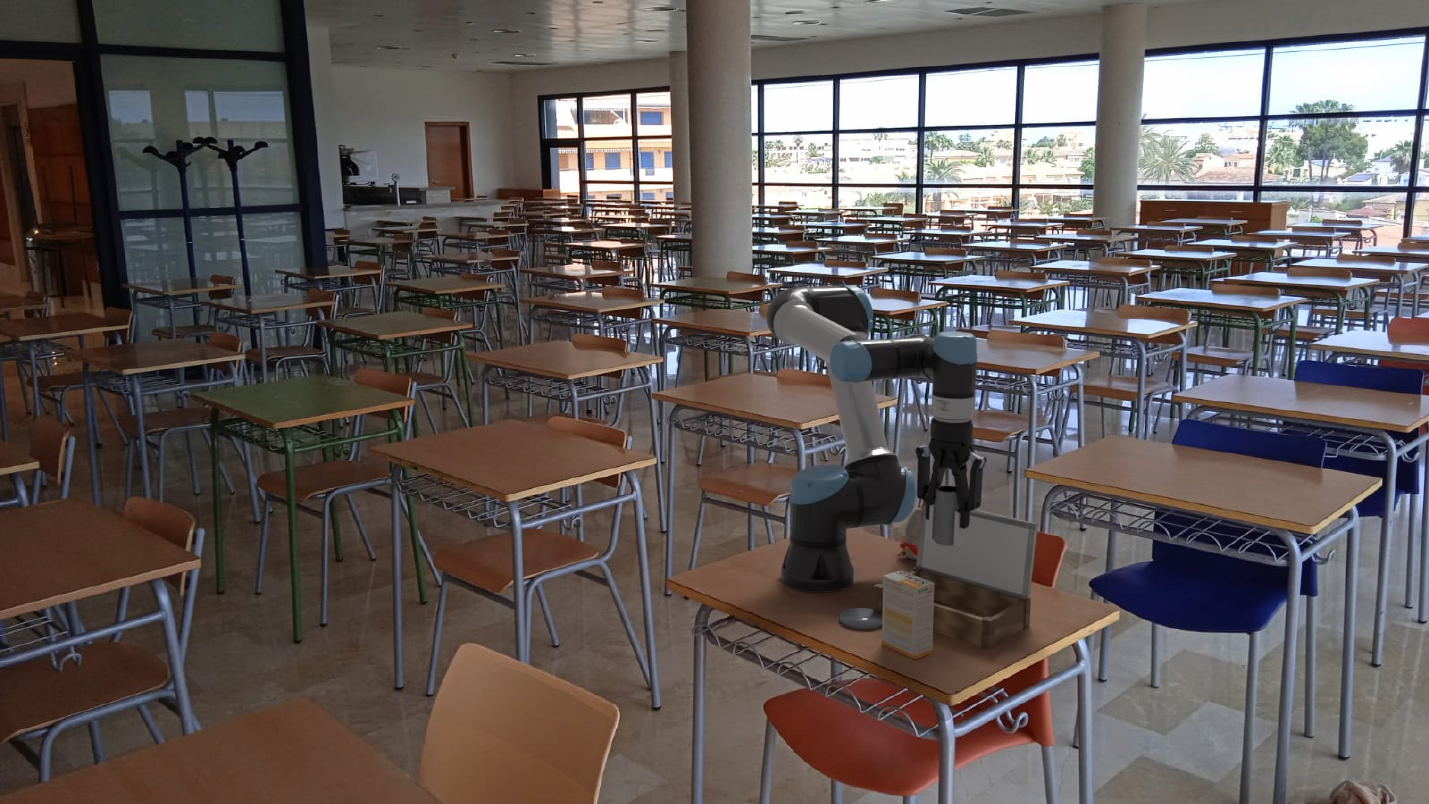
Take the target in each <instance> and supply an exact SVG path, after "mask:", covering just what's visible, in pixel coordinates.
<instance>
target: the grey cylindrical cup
mask: <svg viewBox="0 0 1429 804" xmlns="http://www.w3.org/2000/svg"><path fill="white" fill-rule="evenodd" d="M958 509H959V506H958V499H957V493H956V487H955V485H949V484H945V485H941V486H938V487H937V488H936V506H935V528H934V542H935V543H937V544H940V545H945V546H953V542H954V521H955V511H957V510H958Z"/></svg>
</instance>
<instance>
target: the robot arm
mask: <svg viewBox="0 0 1429 804" xmlns="http://www.w3.org/2000/svg"><path fill="white" fill-rule="evenodd" d="M873 311H874V310H873V307H872V303H871V301H870V298H869V297H868V295H867V294H866V292H865V291H864V290H863V289H862V288H860V287H858V286H856V285H849V284H848V285H847V284H846V285H845V284H841V283H840V284H835V285H816V286H794V287H789V288H787V289H785V290H783V291H781V292H779V293H778V294H776V295H775V297H774V298H772V300H771V301H770V302H769V304H768V307H767V310H766V316H765V317H766V319H765V320H766V324H767V328H768V330H769V331H770V333H771V334H772V336H774V338H776V339H777V340H779V341H781V342H783V343H785V344H787V345H797V346H798V347H801V348H802V349H804V350H805V351H808V352H810V353H811V354H812V355H814V356H815V357H818V358H820V359H821V360H823V361H825V364H826V367H827V372H828V376H829V381H830V384H831V389H832V394H833V397H834V403H835V407H836V411H837V412H836V413H837V415H838V419H839V424H840V429H841V433H842V438H843V440H844V441H843V442H844V446H845V450H846V454H847V460H846V462H845V463H844V464H843V466H841V465H837V464H829V465H825V464H821V465H813V466H810V467H806V468H803V469H800V470H799V471H797V472H796V473H795V474H794V475H793V476H792V478H791V481H790V488H789V496H788V499H789V543H788V547H787V550H786V553H785V556H784V558H783V562H782V564H781V569H780V580H781V581H782V583H783V584H784V585H786V586H787V587H790V588H792V589H796V590H798V591H804V592H811V593H831V592H838V591H841V590H844V589H847V588H850V587H851V586H852V585H853V584H854V583H855V568H854V566H853V563H852V561H851V556H850V552H849V550H848V549H849V548H848V545H847V533H848V532H847V531H848V529H857V528H865V527H871V526H872V527H873V526H880V525H882V526H883V525H885V526H888V525H891V524H895V523H900V522H903V521H905V520H907V518H910V516H911V515H912V513H913V510H914V508H915V507H914V506H915V504H916V500H917V499H919V500H922V501H923V500H924V501H925V502H926V520H929V536H928V539H931V540H932V539H934V528H935V506H936V488H937V487H938V486H942V484H943V480H944V476H945V473H946V470H947V469H949V470H951V475H952V477H953V479H954V486H955V487H956V493H957V499H958V506H959V509H958V510H957V511H955V521H954V542H953V545H954V546H958V545H960V544H962V543H964V541H965V528H967V527H968V526H969V521H970V511H973V510H975V509H977V510H978V509H979V508H981V506H982V505H981V504H982V490H983V478H984V477H983V475H984V468H985V465H986V463H987V457H986V456H984V455H982V456H980V455H978V454H976V453H975V452H974V449H973V446H972V441H973V437H974V436H973V434H974V421H973V419H972V418H974V416H975V391H976V377H977V365H978V364H977V362H978V354H977V353H978V352H977V351H978V350H977V347H978V345H977V344H978V343H977V341H978V340H977V338H976V336H975V335H974V334H972V333H969V332H963V331H942V332H938V333H936V335H935V336H934V337H930V336H927V335H926V334H916V333H915V334H914V333H911V334H907V335H905V336H903V337H899V338H898V337H897V338H882V339H869V337H868V335H869V334H870V332H871V331H872V328H873V325H874V320H873V317H874V312H873ZM912 378H924V379H928V380H931V381H932V384H931V385H932V386H931V387H932V389H931V390H932V391H931V413H930V414H931V416H933V417H932V418H931V419H930V429H929V431H930V432H929V436H930V438H931V439H930V442H929V443H928V444H927V445H926V444H923V445H920V446H917V447H916V448H915V449H914V451H915V454H916V458H917V475H916V476H917V477H916V478H915V476H914V474H913V472H912V471H911V469H910V468H909V467H908V466H906V465H905V466H904V465H900V462H899V458H898V455H897V454H896V453H895V452H893V451H891V450H890V449H889V448H888V443H887V440H886V435H885V431H884V428H883V427H884V426H883V423H882V420H881V415H880V411H879V407H878V406H879V405H878V403H877V398H876V394H875V390H874V386H873V381H874V382H875V381H883V380H885V381H886V380H898V379H912ZM931 456H932V457H933V459H934V460H933V465H932V469H931ZM969 460H970V463H969V465H970V471H969V472H970V473H969V482H968V476H967V472H968V466H967V463H968V461H969ZM931 470H932V473H931ZM930 474H931V475H930ZM915 479H917V480H915ZM916 481H917V483H916ZM916 498H917V499H916Z"/></svg>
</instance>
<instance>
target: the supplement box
mask: <svg viewBox="0 0 1429 804" xmlns="http://www.w3.org/2000/svg"><path fill="white" fill-rule="evenodd" d="M882 577H883V578H882V585H883V615H882V627H881V631H882V632H881V644H882V645H883V646H884V647H886V648H889V649H891V650H893V651H896V652H898V653H900V654H902V655H904V656H906V657H909V658H911V659H913V660H917V659H920V658H923V657H926V656H928V655H931V654H933V645H934V643H933V641H934V640H933V639H934V631H933V613H934V603H935V600H934V583H933V582H930V581H928V580H925V579H923V578H920V577H917V576H915V575H912V574H910V572H907V571H904V570H898V571H893V572H891V573H887V574H885V575H883V576H882Z"/></svg>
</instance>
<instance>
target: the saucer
mask: <svg viewBox="0 0 1429 804" xmlns="http://www.w3.org/2000/svg"><path fill="white" fill-rule="evenodd" d="M882 615H883V614H882V613H880V612H878V611H876V610H874V609H873V608H866V607H857V608H856V607H855V608H848V609H846V610H844V611H841V613H840V614H839V622H840V623H841V625H843V626H845V627H846V628H850V629H853V630H859V631H870V630H877V629H880V628H882Z"/></svg>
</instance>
